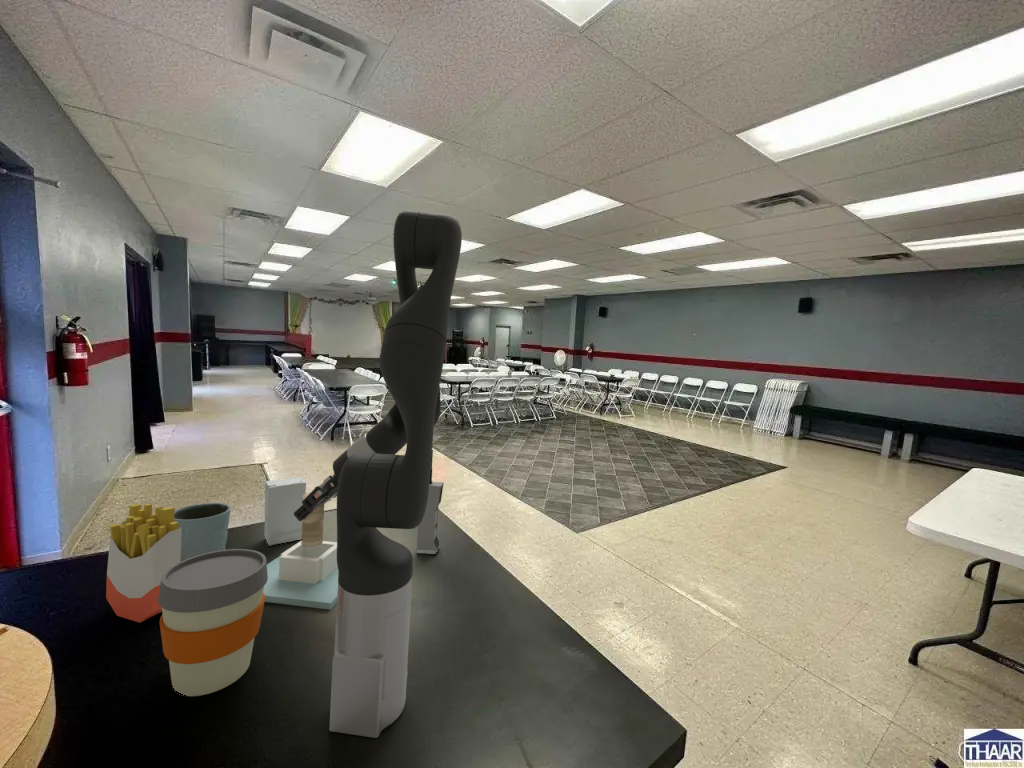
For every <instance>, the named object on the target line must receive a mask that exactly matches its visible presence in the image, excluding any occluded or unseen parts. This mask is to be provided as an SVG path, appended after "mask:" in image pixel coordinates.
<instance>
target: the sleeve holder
mask: <svg viewBox="0 0 1024 768" xmlns="http://www.w3.org/2000/svg"><path fill="white" fill-rule="evenodd" d="M267 573H268V580H267V583H266V584H265V585H264V590H263V593H264V594H265V601H264V603H271V604H272V603H273V604H279V605H280V604H281V605H288V606H289V605H290V606H297V607H306V608H313V609H322V610H332V609H333V608H334V607H335V605H337V593H338V566H337V541H336V542H335V541H327V540H323V542H322V543H321V544H320V545H318V546H313V547H305V546H302V545H301V540H300V541H297V543H296V544H294V545H292V546H291V547H290V548H288V549H286V550H285V551H283V552H282V553H280V555H279V556H278V557H276V558H274V559H273V560H272V561H270V562H268V563H267Z"/></svg>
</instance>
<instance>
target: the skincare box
mask: <svg viewBox="0 0 1024 768" xmlns="http://www.w3.org/2000/svg"><path fill="white" fill-rule="evenodd" d="M306 492H307V482H306V481H305V480H304V479H303V477H301V476H296V477H295V476H294V477H289V478H283V479H280V478H279V479H274V480H265V481H264V536H265V538H264V540H265V539H266V540H265V542H266V541H267V542H266V544H267V543H268V544H269V545H270V544H275V543H280V542H284V541H287V540H290V539H295V538H298V537H302V521H299V520H298V519H297V518H296V517H295V516H294V512H295V511H296V510H297V509H299V508H300V507H301V506H302V505H303V504H302V501H303V495H304V494H307V493H306Z"/></svg>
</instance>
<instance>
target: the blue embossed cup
mask: <svg viewBox="0 0 1024 768" xmlns="http://www.w3.org/2000/svg"><path fill="white" fill-rule="evenodd" d="M231 509H232V508H231V505H229V504H226V503H220V502H205V503H198V504H192V505H187V506H184V507H181V508H179V509H175V510H174V522H179V527H180V528H182V532H181V558H180V562H181V561H184V560H186V559H189V558H191V557H194V556H197V555H201V554H205V553H209V552H214V551H220V550H227V548H226V545H227V542H228V534H229V533H228V530H229V529H228V528H229V525H230V524H229V523H230V517H231Z"/></svg>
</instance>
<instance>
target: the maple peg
mask: <svg viewBox="0 0 1024 768" xmlns="http://www.w3.org/2000/svg"><path fill="white" fill-rule="evenodd" d="M310 493H311V492H307V493H306V494H304V495H303V500H304V499H305V498H306V497H307V496H308V495H309V494H310ZM324 516H325V504H321V505H320V506H318V507H317V509H316V510H313V511H312V512H311V513H310V514H309V515H308V516H307V517H306V518H304V519H303V520H302V540H300V541H301V545H302V546H305V547H313V546H318V545H320V544H321V543H322V542H323V541H324V523H325V522H324V521H325V520H324V519H325V518H324Z"/></svg>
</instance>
